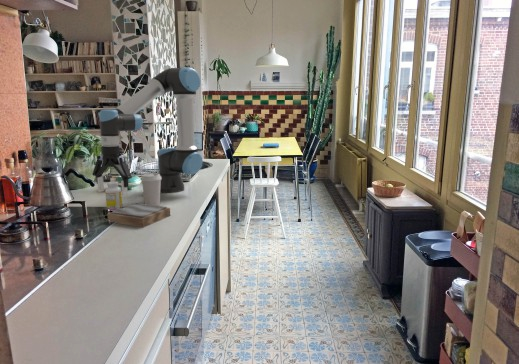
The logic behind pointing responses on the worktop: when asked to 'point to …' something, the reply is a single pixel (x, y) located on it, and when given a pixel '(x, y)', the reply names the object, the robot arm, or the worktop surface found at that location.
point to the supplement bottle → (113, 196)
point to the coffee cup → (151, 188)
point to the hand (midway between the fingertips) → (112, 192)
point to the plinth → (139, 214)
